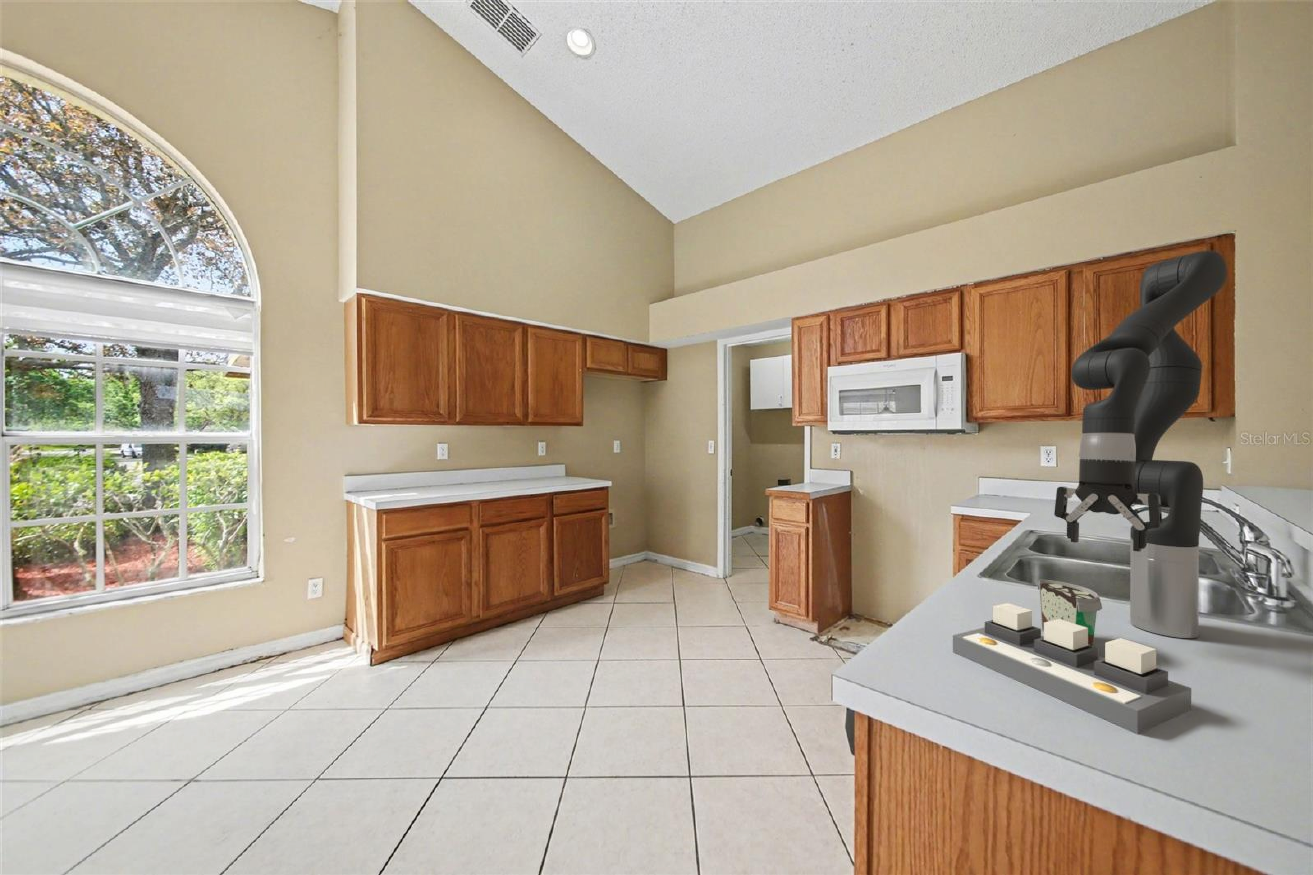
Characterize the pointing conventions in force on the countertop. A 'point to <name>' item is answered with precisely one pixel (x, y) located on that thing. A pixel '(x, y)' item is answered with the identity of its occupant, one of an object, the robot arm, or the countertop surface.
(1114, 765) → the countertop surface
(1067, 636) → the button middle
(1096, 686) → the button board
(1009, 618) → the button left
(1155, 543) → the robot arm
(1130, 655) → the button right
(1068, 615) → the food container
